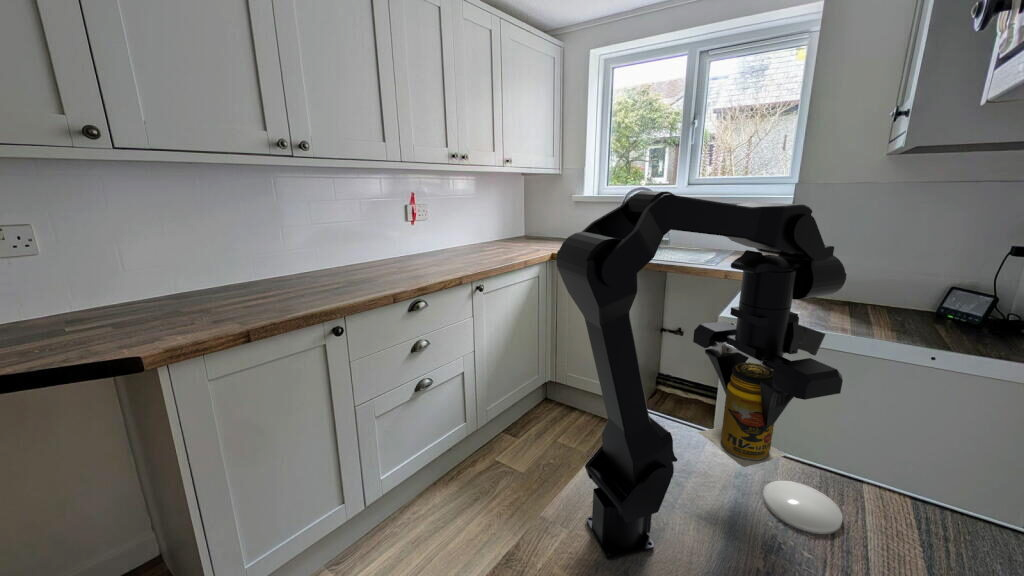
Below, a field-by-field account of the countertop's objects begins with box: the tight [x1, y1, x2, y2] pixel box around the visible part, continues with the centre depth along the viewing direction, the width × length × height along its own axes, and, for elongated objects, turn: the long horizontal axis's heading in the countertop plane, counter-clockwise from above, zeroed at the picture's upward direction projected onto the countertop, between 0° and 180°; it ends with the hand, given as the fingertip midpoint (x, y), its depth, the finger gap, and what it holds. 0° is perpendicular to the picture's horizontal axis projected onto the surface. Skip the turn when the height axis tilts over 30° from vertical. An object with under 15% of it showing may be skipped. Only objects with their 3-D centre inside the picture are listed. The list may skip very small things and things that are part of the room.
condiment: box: [697, 361, 787, 468], centre depth 59 cm, size 7×8×12 cm
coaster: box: [762, 480, 843, 535], centre depth 59 cm, size 9×9×1 cm
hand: (749, 412), depth 58 cm, fingers closed on condiment, 6 cm apart
